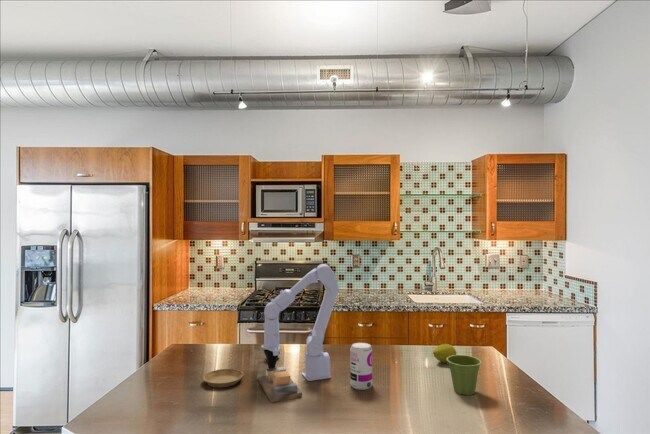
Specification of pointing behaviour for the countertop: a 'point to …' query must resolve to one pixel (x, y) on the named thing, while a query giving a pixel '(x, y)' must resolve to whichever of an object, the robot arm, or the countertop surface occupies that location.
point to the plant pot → (464, 373)
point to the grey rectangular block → (273, 370)
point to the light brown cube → (281, 378)
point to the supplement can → (361, 366)
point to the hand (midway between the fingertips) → (271, 368)
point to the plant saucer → (223, 377)
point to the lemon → (444, 352)
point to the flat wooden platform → (279, 390)
